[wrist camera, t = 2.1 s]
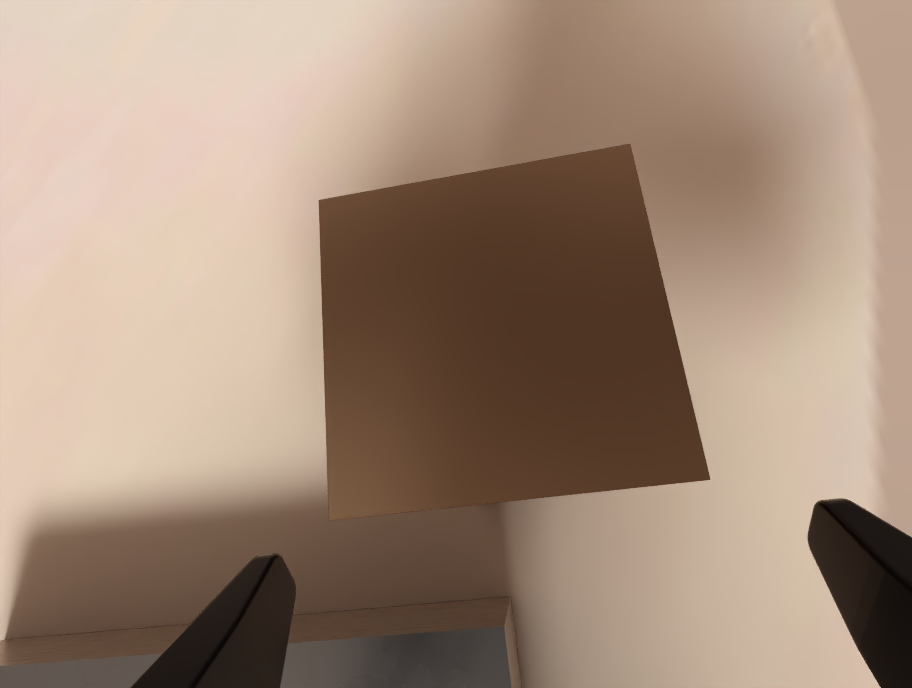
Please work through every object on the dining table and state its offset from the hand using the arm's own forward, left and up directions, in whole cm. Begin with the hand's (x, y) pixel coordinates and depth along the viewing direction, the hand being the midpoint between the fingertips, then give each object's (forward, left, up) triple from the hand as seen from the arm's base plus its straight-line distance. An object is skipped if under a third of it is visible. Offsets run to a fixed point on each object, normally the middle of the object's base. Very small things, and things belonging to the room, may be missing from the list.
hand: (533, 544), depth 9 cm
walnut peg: (+3, -1, -10) cm, 11 cm away
